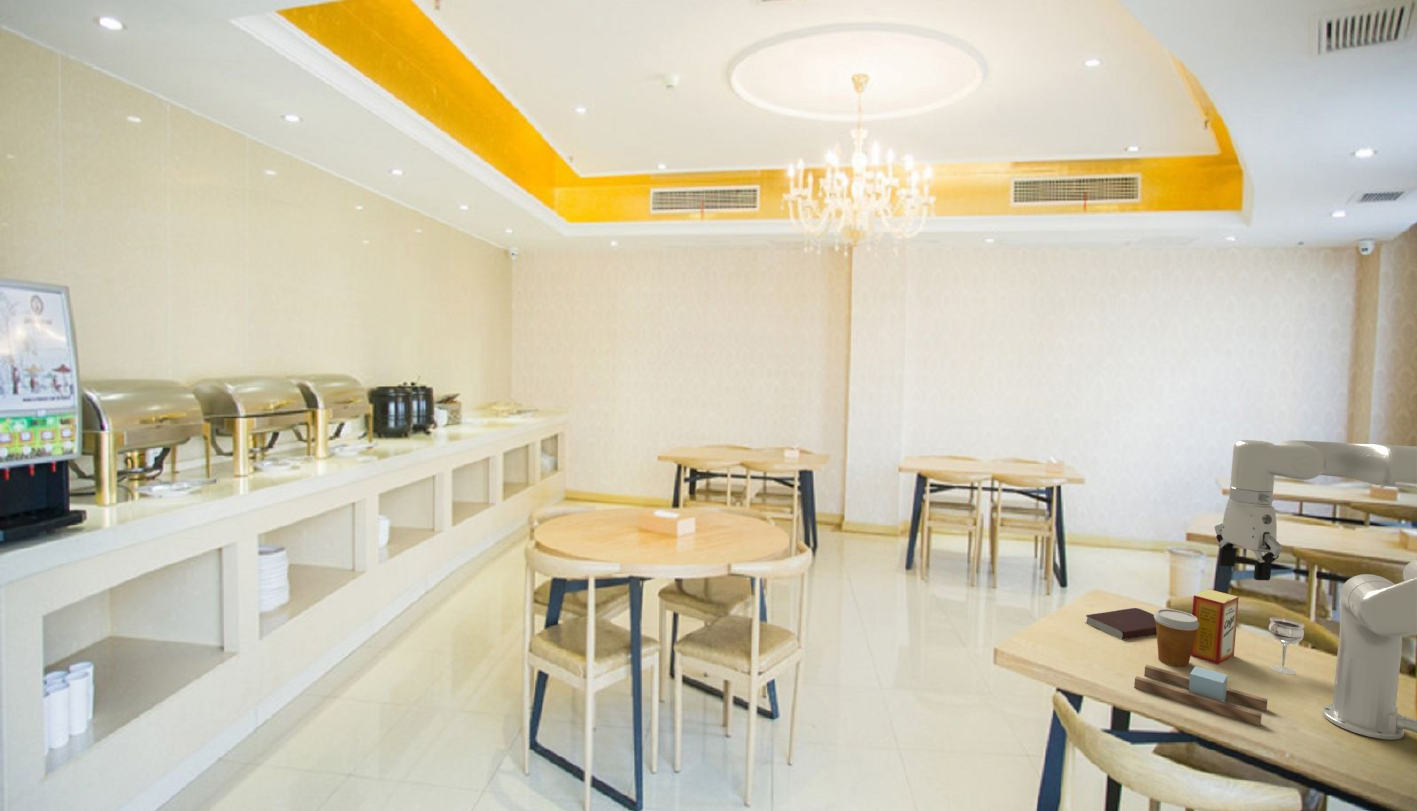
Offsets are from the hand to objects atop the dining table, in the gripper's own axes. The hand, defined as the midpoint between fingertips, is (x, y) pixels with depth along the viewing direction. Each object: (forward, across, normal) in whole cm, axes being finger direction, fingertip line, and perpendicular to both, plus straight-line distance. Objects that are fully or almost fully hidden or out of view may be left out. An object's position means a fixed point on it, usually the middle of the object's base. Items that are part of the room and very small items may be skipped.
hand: (1243, 572), depth 156 cm
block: (+29, -2, +7) cm, 30 cm away
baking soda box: (+29, +22, -12) cm, 38 cm away
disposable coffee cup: (+29, +18, +1) cm, 34 cm away
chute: (+29, 0, +8) cm, 30 cm away
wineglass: (+29, +14, -24) cm, 40 cm away
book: (+30, +40, -2) cm, 50 cm away
